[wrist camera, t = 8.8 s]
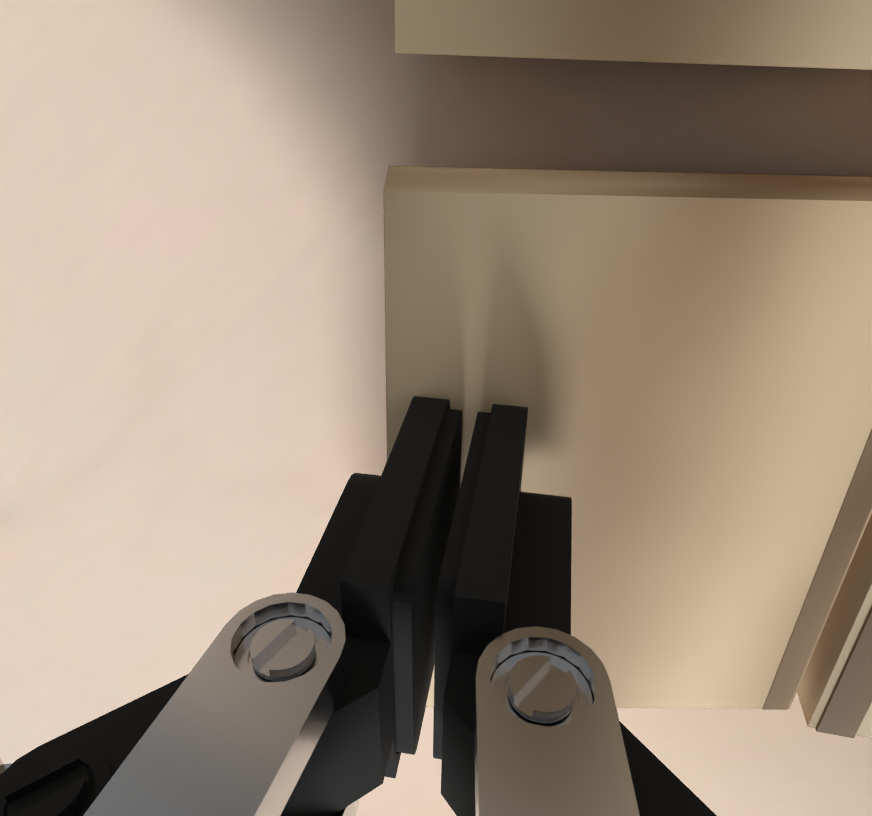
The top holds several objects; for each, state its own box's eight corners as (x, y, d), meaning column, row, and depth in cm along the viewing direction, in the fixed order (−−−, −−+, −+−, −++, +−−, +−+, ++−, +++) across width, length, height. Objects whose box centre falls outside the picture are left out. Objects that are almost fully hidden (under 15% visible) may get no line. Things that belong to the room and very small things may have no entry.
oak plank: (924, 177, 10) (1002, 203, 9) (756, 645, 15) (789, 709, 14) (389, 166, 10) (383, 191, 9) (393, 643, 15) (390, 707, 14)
